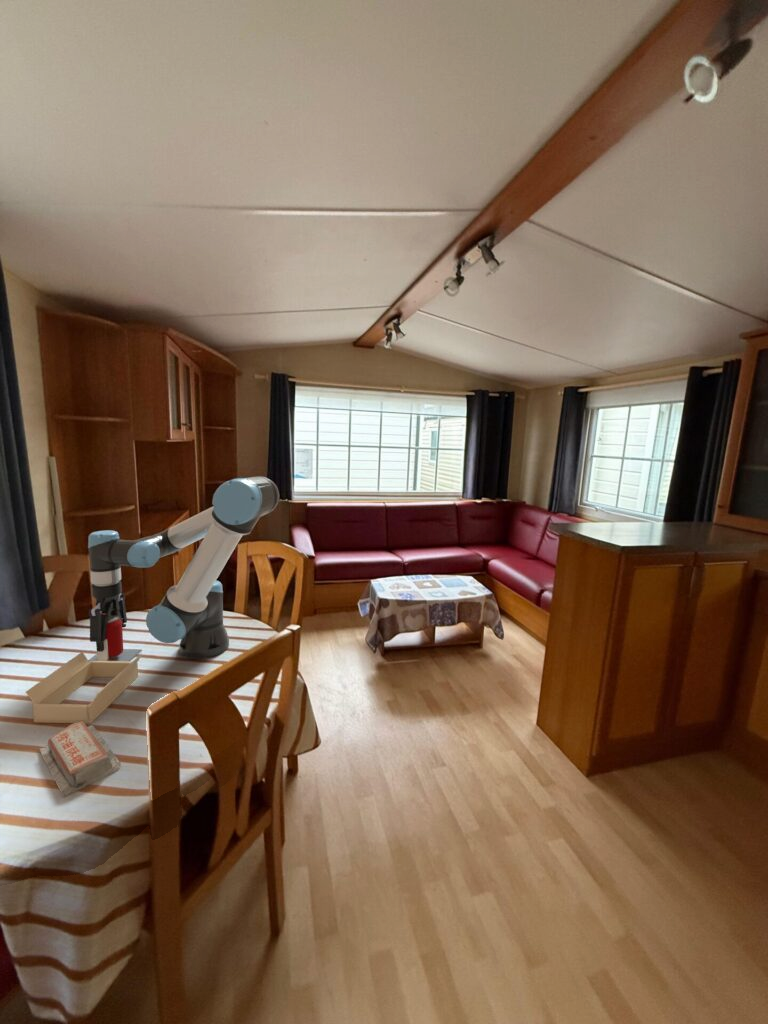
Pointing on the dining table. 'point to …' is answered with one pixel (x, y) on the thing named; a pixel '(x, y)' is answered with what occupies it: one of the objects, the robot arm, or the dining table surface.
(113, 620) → the beverage can
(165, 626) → the robot arm
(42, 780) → the dining table surface
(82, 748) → the packaged product
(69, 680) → the carton
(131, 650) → the coaster
